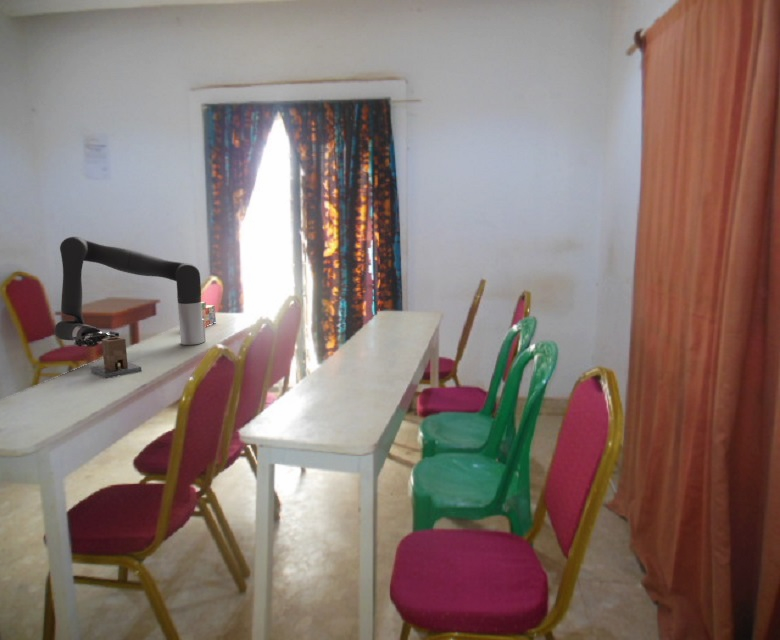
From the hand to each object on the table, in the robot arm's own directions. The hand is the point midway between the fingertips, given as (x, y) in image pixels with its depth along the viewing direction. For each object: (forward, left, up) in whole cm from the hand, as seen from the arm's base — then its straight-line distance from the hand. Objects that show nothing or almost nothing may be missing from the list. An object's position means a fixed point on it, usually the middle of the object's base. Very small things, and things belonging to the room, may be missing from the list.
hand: (104, 341), depth 207 cm
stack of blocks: (-69, -26, -10) cm, 75 cm away
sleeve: (+2, +8, -8) cm, 11 cm away
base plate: (+2, +8, -9) cm, 12 cm away
